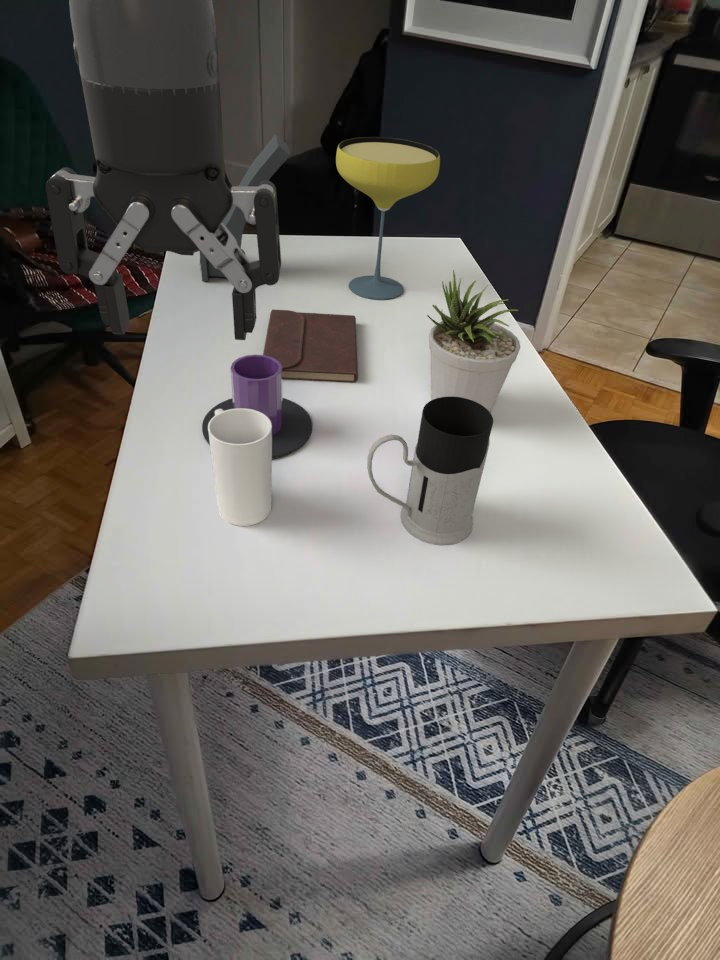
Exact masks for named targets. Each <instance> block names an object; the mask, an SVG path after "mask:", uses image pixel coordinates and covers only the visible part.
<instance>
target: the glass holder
mask: <svg viewBox="0 0 720 960" xmlns="http://www.w3.org/2000/svg"><path fill="white" fill-rule="evenodd" d="M493 426H494V417H493V415H492V413H491V412H489V411H488V410H487V409H486V408H485V407H484V406H482V405H481V404H479V403H477V402H475V401H472V400H470V399H466V398H461V397H454V396H447V397H440V398H436V399H433V400H431V399H430V400H429V401H428V402H426V403H425V405H424V406H423V408H422V411H421V417H420V425H419V430H418V436H417V443H416V444H415V447H414V452H413V459H412V460H409V459H408V458H409V447H408V443H407V442H406V440H405V439H404V437H402V436H400V435H397V434H388V435H385V436H381V437H380V438H378V439H377V440H376V441H375V442H373V444H372V445H371V446H370V448H369V450H368V453H367V464H366V465H367V466H366V469H367V474H368V479H369V480H370V482H371V485H372V486H373V487H374V489H375V490H376V492H377V493H378V494H380V496H382V497H384V498H386V499H387V500H389V501H390V502H392V503H395V504H396V505H398V506H400V507H401V512H400V520H401V523H402V525H403V527H404V529H405V530H406V531H407V532H408V533H409V534H410V535H411V536H412V537H414V538H416V539H418V540H419V541H422V542H425V543H427V544H432V545H436V546H437V545H438V546H449V545H454V544H457V543H460V542H462V541H464V540H465V539H467V538H468V537H469V536H470V534H472V531H473V528H474V518H473V512H474V509H475V505H476V501H477V495H478V492H479V488H480V484H481V481H482V476H483V472H484V468H485V465H486V461H487V457H488V452H489V447H490V438H491V433H492V431H493V430H492V429H493ZM391 441H398V442H399V443H401V445H402V447H403V451H402V459H403V462H404V464H405V465H407V466H409V467H411V471H410V477H409V483H408V489H407V497H406V502H404V501H402V500H401V499H399V498H396V497H394V496H393V495H390V494H389V493H387V492H386V491H384V490H383V489H382V488H380V487H379V485H378V484H377V482H376V480H375V478H374V474H373V458H374V455H375V452H376V451H377V449H378V448H379V447H381V446H382V445H383V444H385V443H388V442H391Z"/></svg>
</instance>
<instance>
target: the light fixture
mask: <svg viewBox="0 0 720 960" xmlns="http://www.w3.org/2000/svg"><path fill="white" fill-rule="evenodd" d="M290 156H291V152H290V148H289V146H288V144H287V143H286V142H285V141H284V140H282V139H281V138H280V136H278V134H274V135H273V137H272V138H271V139H270V140H269V142H268V143H266V145H264V148H263V149H262V150H261V151H260V153H259V154H258V155H257V156H256V158H255V159H254V160H253V162H252V163H251V165H250V166H249V167H248V169H247V170H246V172H245V174H244V176H243V177H242V179H241V181H240V183H239V185H238V186H258V185H259V184H260V183H261V182H262V181H270V179H271V178H272V177H273V176H274V174H276V172H277V171H278V170H280V168H281V166H282V165H284V164H285V162H286V161H287V160H288V159H289V158H290ZM223 223H224V225H225V226H226V227H227V228H228V230H229V231H230V232H231V234H232V235H233V236H234V237H235V239H236V241H237V244H238V246H239V248H240V249H241V250H242V251H243V253H244V254H245V255H246V252H245V251H244V250H243V248H242V240H243V235H244V229H245V226H246V223H247V221H246V219H245V217H244V214H243V212H242V210H241V209H240V208H239V207H237V206H232V208H231V210H230V212H229V213H228V215H227V216H226V218H225V219H224V220H223ZM218 233H219V232H218ZM211 249H212V248H211ZM199 271H200V273H201V281H202V282H208V281H209V277H218V278H226V276H225V275H224V274H223V273H222V272H221V270H219V269H216V268H215V267H214V266H213V265H212V264H211V263H210V261H209V260H208V259H207V258H206V257H205V255H204V254H203V253H202V252H201V251H199Z"/></svg>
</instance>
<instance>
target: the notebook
mask: <svg viewBox="0 0 720 960" xmlns="http://www.w3.org/2000/svg"><path fill="white" fill-rule="evenodd" d="M262 355H266V356H269V357H273V358H275V359H276V360H278V361H279V362H280V364H281V365H282V380H297V381H318V382H337V383H357V382H358V380H359V366H358V340H357V318H356V316H355V315H354V314H353V315H350V314H336V313H335V314H334V313H332V314H331V313H316V312H301V311H295V310H289V309H271V311H270V314H269V319H268V325H267V331H266V336H265V340H264V348H263V352H262Z"/></svg>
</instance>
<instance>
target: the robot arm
mask: <svg viewBox="0 0 720 960" xmlns="http://www.w3.org/2000/svg"><path fill="white" fill-rule="evenodd" d="M68 4H69V15H70V22H71V29H72V34H73V42H72V45H73V54H74V58H75V62H76V64H77V66H78V68H79V74H80V80H81V85H82V92H83V97H84V103H85V108H86V113H87V119H88V125H89V130H90V136H91V141H92V147H93V153H94V158H95V162H96V175H95V176H90V175H82V174H77V172H76V171H75V170H73V169H72V168H70V167H62V168H60V169H59V170H58V171H56V172H55V173H54V174H53V175H52V176H50V178H49V179H48V180H47V181H46V182H45V193H46V199H47V204H48V210H49V216H50V222H51V226H52V233H53V238H54V244H55V250H56V256H57V262H58V267H59V269H60V270H61V271H62V272H63V273H64V274H66V275H74V274H78V275H81V276H84V277H86V278H87V279H89V281H91V283H92V284H93V286H94V290H95V294H96V295H95V296H96V300H97V305H98V310H99V315H100V319H101V321H102V322H103V325H104V326H106V327H110V329H111V333H112V334H113V335H123V336H124V335H125V334H126V332H127V330H128V328H129V326H130V322H131V321H130V320H131V319H130V313H129V307H128V302H127V296H126V290H125V285H124V277H123V273H118V270H117V267H118V266H119V264H120V263H121V261H122V260H123V258H124V256H125V255H126V253H127V252H128V250H129V249H130V248H131V246H132V244H134V245H135V246H136V247H138V248H139V249H141V250H143V252H144V254H160V253H166V252H171V253H174V254H177V255H180V256H192V257H193V256H194V254H195V253H198V252H200V251H201V252H202V253H203V254H204V255H205V257H206V258H207V259H208V260H209V261H210V263H211V264H212V265H213V266H214V267H215V268H216V269H219V270H221V272H222V273H223V274H224V275H225V276H226V277H225V278H226V279H227V280H228V281H229V282H230V284H231V285H232V286H233V287H232V291H231V299H232V318H233V333H234V340H235V341H246V339H247V334H248V333H249V334H252V333H253V331H254V329H255V326H256V321H257V296H256V292H257V291H256V290H257V288H259V287H261V286H264V285H267V286H274V285H276V284H277V283H278V282H279V279H280V273H281V269H282V253H281V252H282V251H281V239H280V225H279V224H280V223H279V209H278V196H277V187H276V185H275V183H273V182H272V181H271V180H268V181H262V182H261V183H260V184H259V185H258V186H239V185H236V186H235V185H232V183H231V181H230V180H229V177H228V175H227V171H226V167H225V164H226V163H225V151H224V150H225V149H224V133H223V115H222V98H221V85H220V84H221V81H220V67H219V51H218V34H217V22H216V17H215V10H214V5H213V0H68ZM91 198H95V200H96V202H97V203H98V204H99V205H100V207H101V208H102V209H103V211H105V212H106V214H107V215H108V216H109V218H111V220H112V221H113V222H114V223H115V224H116V225H117V226H116V228H114V230H113V232H112V234H111V235H110V237H109V238H108V240H107V242H106V243H105V245H104V247H103V248H102V250H101V252H100V253H98V252H95V251H93V250H90V249H89V245H88V237H87V231H86V223H85V215H84V212H85V211H86V210H87V209H88V208H89V206H90V205H91ZM232 206H237V207H239V208H240V209H241V210H242V212H243V214H244V217H245V219H246V223H249V224H250V225H255V229H256V240H257V252H258V260H254V261H251V260H250V259H249V258H248V256H247V255H246V253H245V254H244V253H243V251H242V250H243V249H242V248H241V249H242V250H241V249H240V248H239V246H238V244H237V241H236V239H235V237H234V236H233V235H232V234H231V232H230V231H229V230H228V228H227V227H226V226H225V225H224V223H223V220H224V219H225V218H226V216H227V215H228V213H229V212H230V210H231V208H232ZM218 232H219V233H218ZM211 248H212V249H211Z"/></svg>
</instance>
